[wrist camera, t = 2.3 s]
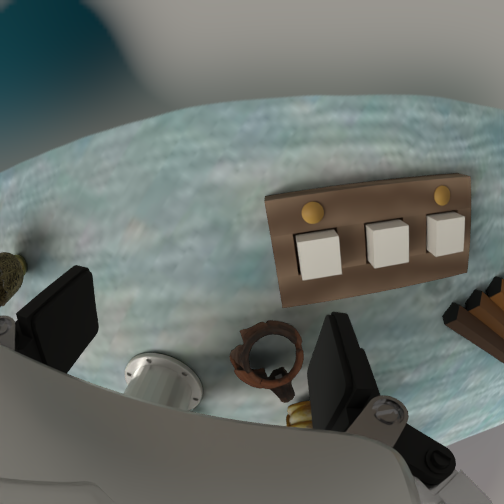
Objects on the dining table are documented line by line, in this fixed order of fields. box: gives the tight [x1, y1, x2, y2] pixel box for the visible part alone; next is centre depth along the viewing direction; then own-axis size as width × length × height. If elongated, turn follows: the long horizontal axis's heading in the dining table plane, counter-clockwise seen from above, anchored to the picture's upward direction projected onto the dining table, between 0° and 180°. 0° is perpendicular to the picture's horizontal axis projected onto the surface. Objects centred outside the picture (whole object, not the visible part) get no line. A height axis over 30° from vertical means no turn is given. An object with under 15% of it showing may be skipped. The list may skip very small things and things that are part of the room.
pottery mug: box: [230, 320, 304, 403], centre depth 37 cm, size 12×10×8 cm
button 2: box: [296, 229, 342, 280], centre depth 30 cm, size 4×4×2 cm
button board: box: [265, 173, 471, 308], centre depth 31 cm, size 12×24×3 cm, turn 101°
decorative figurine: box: [286, 401, 313, 429], centre depth 36 cm, size 10×8×15 cm
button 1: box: [426, 211, 465, 257], centre depth 28 cm, size 4×4×2 cm
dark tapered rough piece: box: [0, 252, 27, 307], centre depth 33 cm, size 8×7×8 cm
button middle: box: [365, 219, 409, 268], centre depth 29 cm, size 4×4×2 cm
